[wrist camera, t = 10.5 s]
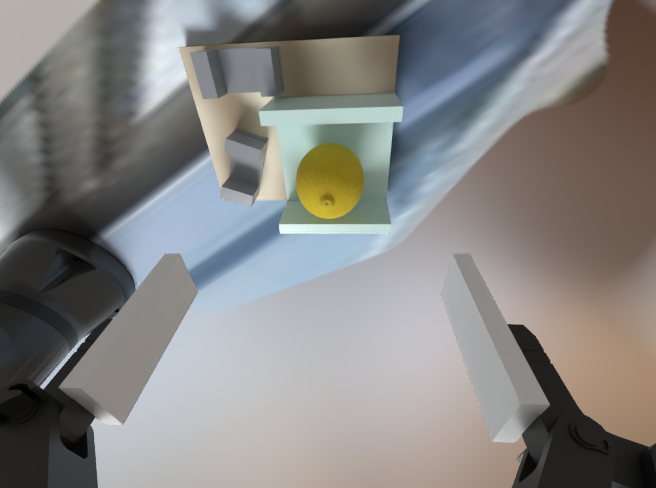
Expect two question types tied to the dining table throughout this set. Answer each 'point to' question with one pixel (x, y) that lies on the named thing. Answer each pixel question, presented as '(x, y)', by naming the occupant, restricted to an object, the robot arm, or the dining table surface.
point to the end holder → (345, 129)
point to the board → (292, 93)
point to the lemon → (329, 180)
